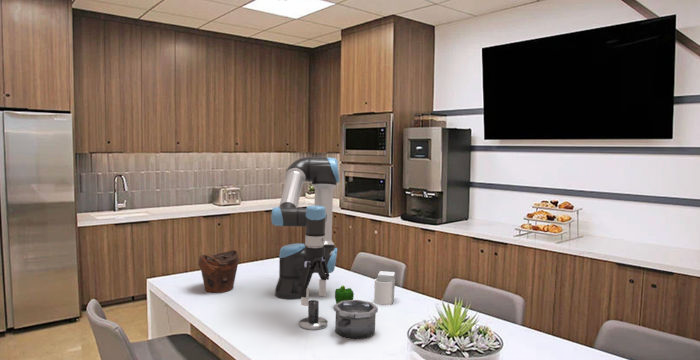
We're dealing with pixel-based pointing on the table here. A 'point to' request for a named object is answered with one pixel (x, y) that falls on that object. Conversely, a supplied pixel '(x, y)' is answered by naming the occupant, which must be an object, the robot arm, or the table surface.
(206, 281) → the chocolate muffin
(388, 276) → the supplement box
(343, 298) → the bell pepper
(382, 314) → the table surface
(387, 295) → the cup
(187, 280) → the table surface
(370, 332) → the pot
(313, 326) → the lid
